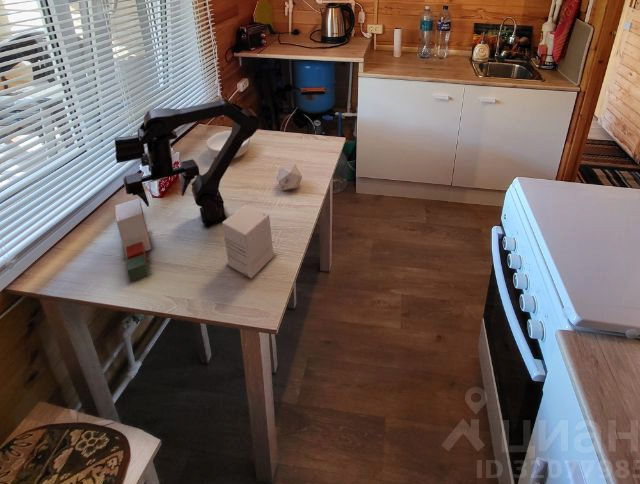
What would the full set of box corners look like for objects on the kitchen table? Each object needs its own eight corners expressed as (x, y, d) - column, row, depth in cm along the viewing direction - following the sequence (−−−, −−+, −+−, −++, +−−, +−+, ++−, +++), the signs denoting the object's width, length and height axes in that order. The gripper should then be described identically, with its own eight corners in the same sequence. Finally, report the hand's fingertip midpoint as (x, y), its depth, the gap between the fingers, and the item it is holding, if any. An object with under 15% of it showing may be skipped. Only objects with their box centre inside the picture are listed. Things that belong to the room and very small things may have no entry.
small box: (151, 249, 110) (142, 213, 105) (126, 259, 106) (115, 222, 102) (148, 232, 116) (139, 197, 111) (124, 240, 113) (114, 205, 108)
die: (272, 188, 138) (273, 179, 130) (283, 166, 143) (284, 156, 135) (293, 197, 138) (295, 189, 129) (304, 175, 143) (306, 166, 135)
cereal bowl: (244, 166, 149) (242, 150, 147) (202, 165, 150) (199, 150, 147) (255, 144, 165) (254, 129, 163) (217, 143, 165) (215, 129, 163)
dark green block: (146, 265, 104) (143, 253, 103) (147, 275, 101) (144, 264, 100) (129, 271, 103) (126, 259, 101) (130, 282, 99) (127, 270, 98)
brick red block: (145, 252, 109) (142, 241, 107) (146, 261, 105) (143, 250, 104) (129, 258, 107) (126, 247, 105) (129, 268, 103) (126, 256, 102)
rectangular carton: (251, 244, 112) (246, 202, 107) (274, 256, 108) (270, 213, 102) (227, 265, 105) (220, 222, 99) (250, 279, 100) (245, 235, 95)
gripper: (187, 134, 118) (191, 177, 123) (117, 149, 107) (125, 196, 112) (197, 150, 110) (201, 195, 115) (122, 168, 99) (130, 217, 104)
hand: (165, 200), depth 112 cm, fingers open, 9 cm apart
